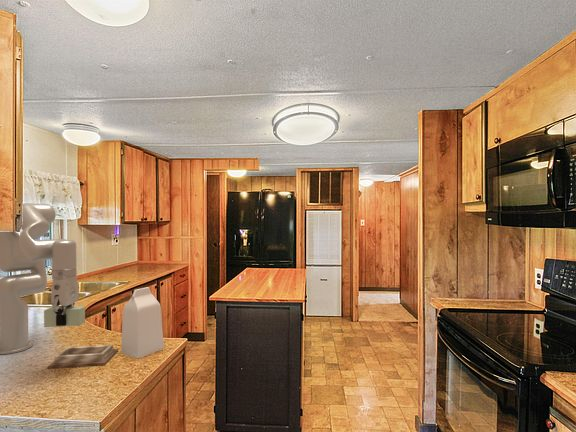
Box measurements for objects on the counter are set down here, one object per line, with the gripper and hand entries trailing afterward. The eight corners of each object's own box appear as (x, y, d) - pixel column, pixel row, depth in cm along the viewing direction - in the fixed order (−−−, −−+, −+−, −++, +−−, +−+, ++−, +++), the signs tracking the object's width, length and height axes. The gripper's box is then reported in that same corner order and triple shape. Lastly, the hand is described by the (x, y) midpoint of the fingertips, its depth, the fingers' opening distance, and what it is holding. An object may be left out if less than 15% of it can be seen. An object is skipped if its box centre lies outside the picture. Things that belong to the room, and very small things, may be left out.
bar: (79, 325, 121) (79, 309, 121) (44, 327, 119) (44, 310, 119) (85, 322, 125) (84, 306, 125) (50, 323, 123) (50, 307, 123)
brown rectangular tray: (47, 368, 123) (47, 359, 123) (66, 354, 136) (66, 345, 136) (104, 365, 125) (104, 356, 125) (118, 351, 138) (118, 343, 138)
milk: (138, 358, 131) (137, 293, 131) (121, 352, 137) (120, 289, 137) (163, 348, 141) (163, 287, 141) (147, 343, 147) (146, 284, 147)
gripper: (62, 277, 114) (63, 330, 114) (86, 269, 131) (86, 316, 131) (39, 278, 113) (39, 331, 113) (66, 270, 130) (66, 317, 130)
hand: (64, 322), depth 122 cm, fingers closed on bar, 4 cm apart
